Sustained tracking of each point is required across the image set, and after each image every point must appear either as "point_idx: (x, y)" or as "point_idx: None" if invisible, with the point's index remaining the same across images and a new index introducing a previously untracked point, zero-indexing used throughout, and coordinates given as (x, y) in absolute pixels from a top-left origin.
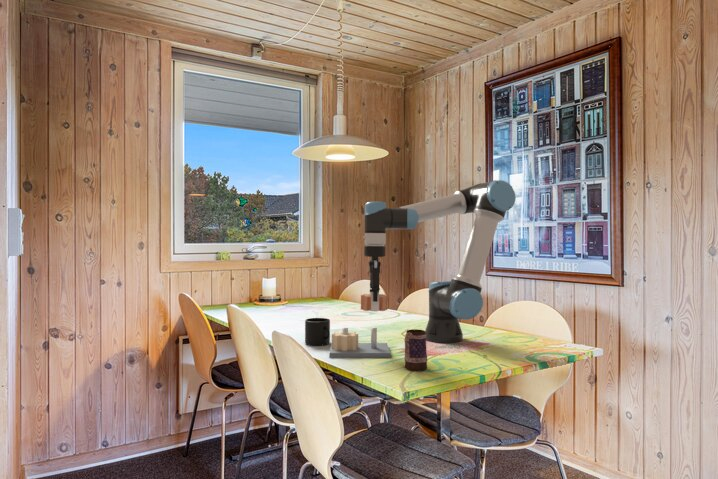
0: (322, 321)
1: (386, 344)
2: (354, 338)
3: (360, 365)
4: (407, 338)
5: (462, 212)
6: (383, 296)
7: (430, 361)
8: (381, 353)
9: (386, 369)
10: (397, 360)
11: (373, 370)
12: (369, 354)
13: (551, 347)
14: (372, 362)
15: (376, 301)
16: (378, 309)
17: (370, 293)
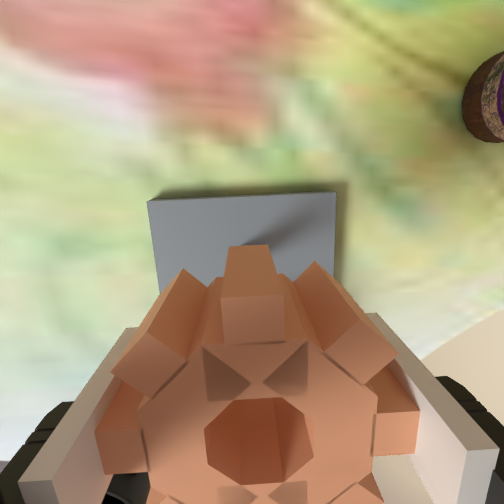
0: None
1: (177, 204)
2: None
3: (430, 289)
4: None
5: None
6: (375, 346)
7: (404, 19)
8: (334, 226)
9: (492, 208)
10: (376, 164)
11: (496, 249)
12: (332, 268)
13: None
14: (396, 253)
15: (445, 383)
16: (380, 322)
17: (105, 487)
